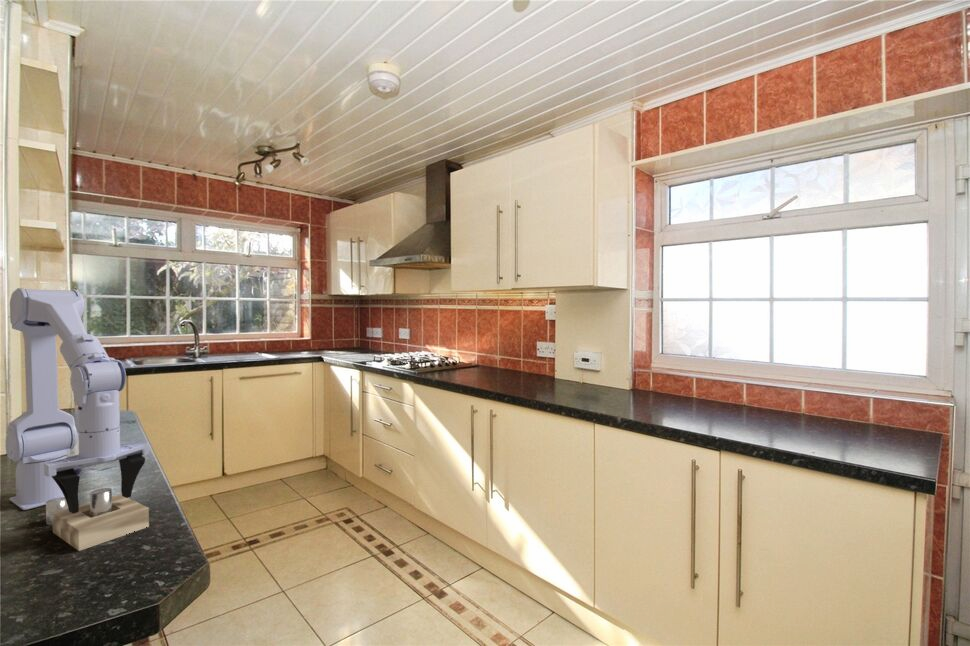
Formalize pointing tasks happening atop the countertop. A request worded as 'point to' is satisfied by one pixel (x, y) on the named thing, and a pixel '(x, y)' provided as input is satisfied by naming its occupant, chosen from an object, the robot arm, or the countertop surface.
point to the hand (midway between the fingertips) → (101, 503)
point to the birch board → (100, 523)
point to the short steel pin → (54, 508)
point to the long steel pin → (100, 502)
